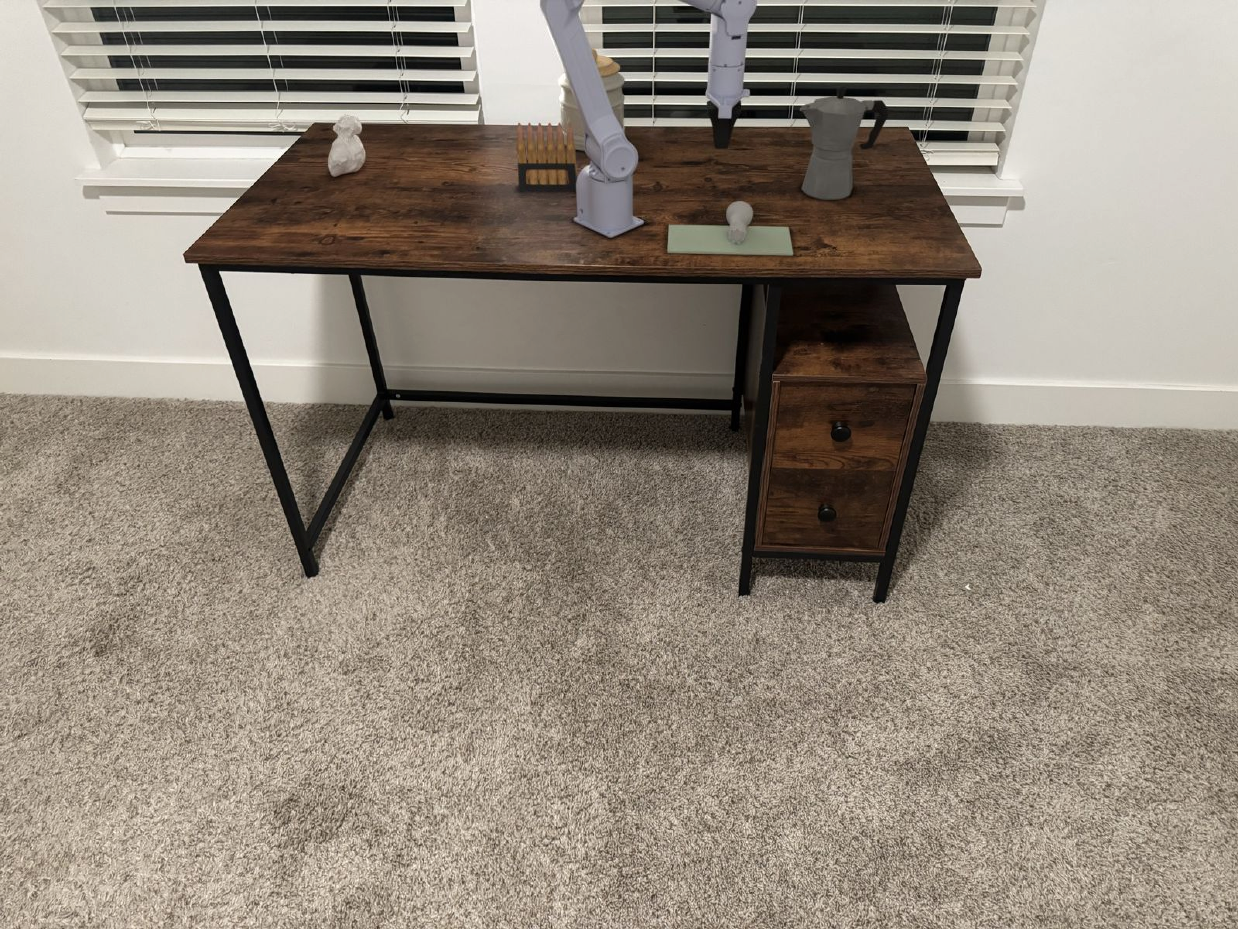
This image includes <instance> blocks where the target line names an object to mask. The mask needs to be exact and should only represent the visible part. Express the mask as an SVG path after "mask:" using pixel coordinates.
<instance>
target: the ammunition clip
mask: <svg viewBox="0 0 1238 929" xmlns="http://www.w3.org/2000/svg"><path fill="white" fill-rule="evenodd" d="M526 127H527V128H526V143H525V136H524V130H523V127H522V124H521V122H518V123H517V127H516V154H517V155H516V156H517V174H518V175H517V176H518V191H519V192H576V182H577V178H578V173H577V172H578V171H577V156H576V149H575V145H574V138H573V130H572V126H571V124H570V123H568V127H567V144H566V145H565V144H564V136H563V129H562V126H561V122H558V124H557V128H556V143H555V135H554V130H553V125H552V124H551V122H548V124H547V128H546V143H545V135H544V134H545V133H544V128H543V125H542V124H541V122H538V124H537V129H536V141H535V136H534V130H533V126H532V123H531V122H528V124H527V126H526ZM535 142H536V144H535Z"/></svg>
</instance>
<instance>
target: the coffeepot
mask: <svg viewBox="0 0 1238 929" xmlns="http://www.w3.org/2000/svg"><path fill="white" fill-rule="evenodd" d="M846 91H847V87H845V86H843V85H842V86H837V87H836V96H835V95H832V96H826V97H820V98H816V99H814V101H813V102H810V103H806V104H804V105H801V106H800V108H799V112H801V113H803V114H804V115H803V116H805V119H806V121H807V123H808V126H809V127H810V128H809V129H810V130H811V144H812V145H813V148H812V153H811V155H810V158H809V162H808V165H807V168H806V172H805V175H804V179H803V182H802V185H801V191H802V192H803V193H804V194H806V195H807V196H809V197H811V198H814V199H817V200H823V201H836V200H837V201H838V200H842V199H845V198H847V197H849V196H850V195H851V193H852V190H853V154H852V152H853V148H854V146H855V143H856V141H857V136H858V135H859V134H858V133H859V131H860V127H861V124H862V121H863V117H864V114H871V113H876V112H877V113H878V115H877V117H876V119H875V121H874V125H873V128H872V129H871V130H870V132H869V135H868V139H867V141H866V142H863V143H860V144H859V146H860V149H861V150H869V149H872V148H873V147H874V144H875V143H876V141H877V139H878V137H879V135H880V133H881V132H882V129H883V128H884V125H885V123H886V122H887V120H888V118H889V115H890V110H889V108H888V106H887V105H886V103H885V102H884V101H883V100H882V99H876V100H875V99H874V100H873V99H871V100H870V99H869V100H868V99H867V100H858V99H856V98H853V97H846V96H845V94H846Z"/></svg>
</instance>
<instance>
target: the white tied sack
mask: <svg viewBox="0 0 1238 929" xmlns="http://www.w3.org/2000/svg"><path fill="white" fill-rule="evenodd" d="M362 125H363V124H362V122H361V121H360V119H359V118H358V116H355V115H350V114H346V113H345V114H344V115H343V116H340V117H339V120H337V122H336V123H335V124H334V125H333V126H332V131H334V133H335V134H336V135H337V138H335V139H334V141H333V142H332V144H331V148H330V151H329V154H328V158H327V167H328V170H329V172H330V175H331V176H332V177H333V178H336V177H339V176H341V175H345V174H350V173H351V174H352V173H358V171H360V170H361V168H362V167H363V166H364V163H365V162H366V150H365V147H364V144H363V143H362V141H361V138H360V137H359V135H360V134H361V133H362V131H363V126H362Z"/></svg>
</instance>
